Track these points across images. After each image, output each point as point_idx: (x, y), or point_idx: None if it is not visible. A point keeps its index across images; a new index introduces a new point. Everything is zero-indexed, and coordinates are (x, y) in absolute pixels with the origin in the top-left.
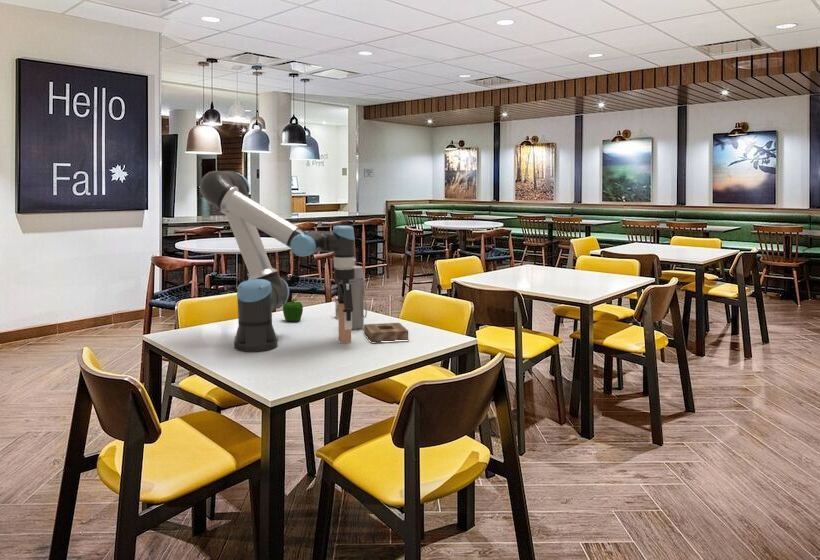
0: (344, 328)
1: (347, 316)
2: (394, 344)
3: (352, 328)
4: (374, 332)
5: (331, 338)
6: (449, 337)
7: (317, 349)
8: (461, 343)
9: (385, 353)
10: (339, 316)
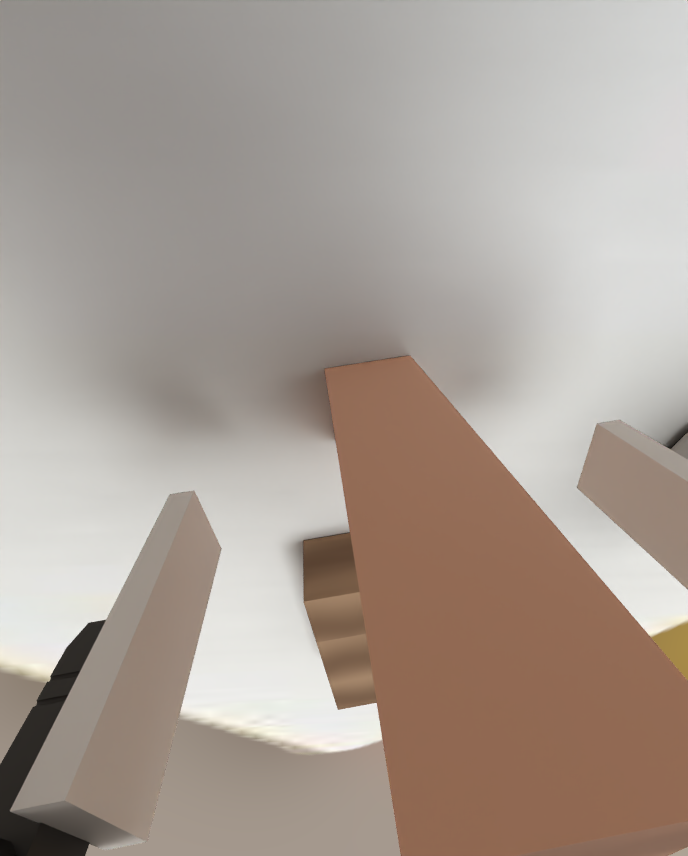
0: (190, 497)
1: (33, 720)
2: (282, 618)
3: (677, 446)
4: (313, 613)
5: (494, 293)
6: (375, 722)
7: (67, 125)
8: (293, 743)
9: (94, 598)
10: (426, 521)
